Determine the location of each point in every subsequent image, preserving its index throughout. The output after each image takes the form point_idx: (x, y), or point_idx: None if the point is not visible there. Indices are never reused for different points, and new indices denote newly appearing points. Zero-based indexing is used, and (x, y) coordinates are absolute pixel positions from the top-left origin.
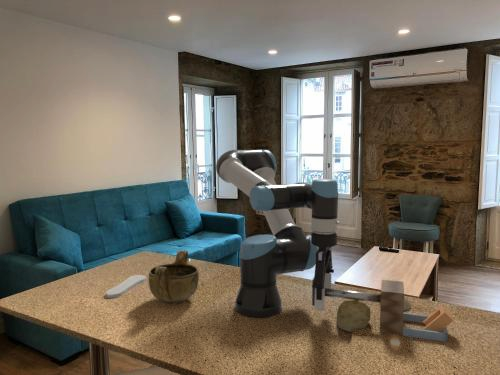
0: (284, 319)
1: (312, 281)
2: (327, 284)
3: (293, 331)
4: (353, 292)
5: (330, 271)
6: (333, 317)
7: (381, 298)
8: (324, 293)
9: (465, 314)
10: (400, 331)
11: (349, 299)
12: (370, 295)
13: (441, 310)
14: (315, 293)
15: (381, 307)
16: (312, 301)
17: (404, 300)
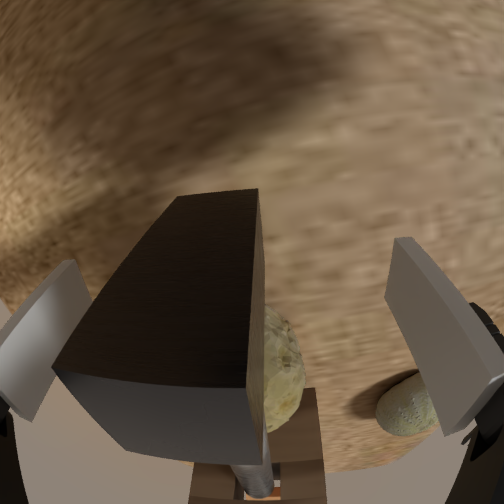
0: (164, 30)
1: (66, 342)
2: (419, 328)
3: (69, 132)
4: (235, 465)
5: (470, 445)
6: (300, 256)
7: (190, 498)
8: (43, 388)
9: (384, 453)
10: None
11: (270, 408)
12: (240, 482)
13: (267, 499)
14: (3, 335)
15: (193, 471)
16: (167, 210)
17: (398, 435)
